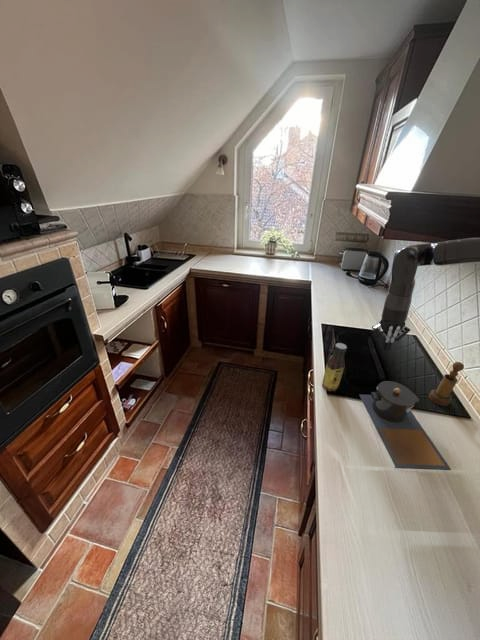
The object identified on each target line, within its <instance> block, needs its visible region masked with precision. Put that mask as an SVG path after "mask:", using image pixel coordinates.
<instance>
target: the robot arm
mask: <svg viewBox="0 0 480 640" xmlns="http://www.w3.org/2000/svg"><path fill="white" fill-rule="evenodd" d="M392 260H393V261H392V266H391V278H390V282H389V286H388V289H387V290H388V291H387V294H386V297H385V299H384V302H383V308H382V313H381V319H380V320H379V323H378V324H376V325H372V326H371V329H372V330H373V332H374V334H375V336H376V337H377V338H378V339H379V340H380V341H382V342H381V344H380V345H381V346H380V349H382V350H383V352H390V350H392V346H393V343H394V342H399V341H400V340H401V339H403V338H404V337H405V336H406V335H407V334H408V333H410V331H411V329H410V327H408V326H406V321H407V318H408V315H409V312H410V308H411V304H412V298H413V293H414V290H415V286H416V279H415V278H416V274H417V271H418V268H419V267H422V266H423V267H424V266H437V267H438V266H439V267H442V266H443V267H446V266H456V265H471V264H480V237H467V238H457V239H451V240H444V241H439V242H434V243H431V242H430V243H420V244H419V243H417V244H411V245H407V246H404V247H402V248H399V250H397V252H395V255H394V257H393V259H392Z"/></svg>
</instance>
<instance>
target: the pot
mask: <svg viewBox="0 0 480 640" xmlns="http://www.w3.org/2000/svg"><path fill="white" fill-rule="evenodd" d="M370 395H371V396H372V398H373V402H372V408H373V410H374V411H375V412H376V414H378V415H379V416H380V417H381V418H383V419H385V420H387V421H390V422H394V423H399V422H402V421H404V420H405V418H406V416H407V415H408V413H409V411H410V410H411V409H412V408H413V407H415V404H416V403H419V401H420V399H419V398H418V396H417V395H416V393H414V392H413V391H412V390H411V389H409V388H408V387H407V386H405V385H403V384H401V383H399V382H396V381H392V380H383V381H381V382H379V383H378V385H377V386H376V391H371V392H370Z"/></svg>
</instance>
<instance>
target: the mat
mask: <svg viewBox="0 0 480 640" xmlns="http://www.w3.org/2000/svg"><path fill="white" fill-rule="evenodd" d="M358 395H359V398H360V400H361V401H362V404H363V406H364V407H365V410H366V411H367V414H368V415H369V418H370V419H371V422H372V424H373V426H374V428H375V430H376V431H377V433H378V435H379V438H380V439H381V441H382V443H383V446H384V447H385V449H386V452H387V453H388V455H389V457H390V459H391V461H392V463H393V465H394V469H407V470H408V469H410V470H411V469H413V470H434V471H435V470H439V471H451V470H452V468H451V467H450V466H449V464H448V463H447V461H446V460H445V458H444V457H443V455H442V454H441V453H440V451H439V450H438V448H437V447H436V445H435V444H434V442H433V441H432V439H431V438H430V436H429V435H428V433H427V432H426V431H425V429H424V427H423V426H422V425H421V423H420V422H419V420H418V419H417V417H416V416H415V415H414V414H413V411H412V410H411V409H410V411H409V413H408V415H407V416H406V418H405V420H404V421H402V422H399V423H394V422H390V421H387V420H385V419H383V418H381V417H380V416H379V415H378V414H376V412H375V411H374V410H373V408H372V402H373V398H372V396H371V394H361V393H360V394H358Z"/></svg>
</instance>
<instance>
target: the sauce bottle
mask: <svg viewBox="0 0 480 640" xmlns="http://www.w3.org/2000/svg"><path fill="white" fill-rule="evenodd" d="M347 349H348V346H347V345H346V344H345V343H342V342H337V343H335V346H334V351H333V353H332V354H331V355H330V356H329V357H328V360H327V363H326V365H325V370H324V374H323V377H322V382H321V385H322V389H324V390H326V391H327V392H331V393H332V391H333V392H336V391H338V388H339V386H340V383H341V380H342V377H343V373H344V370H345V367H346V364H345V363H346V362H345V355H346V352H347Z"/></svg>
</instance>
